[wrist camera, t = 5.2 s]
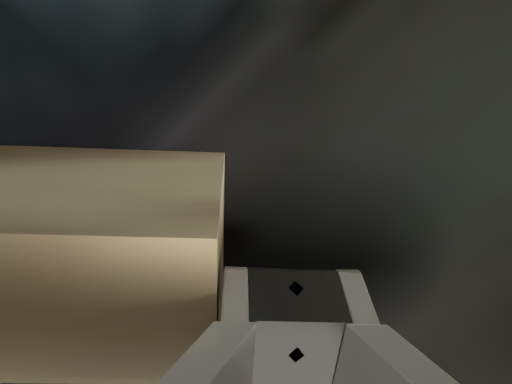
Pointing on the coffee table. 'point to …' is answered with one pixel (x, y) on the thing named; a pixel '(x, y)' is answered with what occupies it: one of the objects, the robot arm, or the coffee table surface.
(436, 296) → the coffee table surface
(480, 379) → the coffee table surface
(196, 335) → the rod
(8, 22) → the coffee table surface
